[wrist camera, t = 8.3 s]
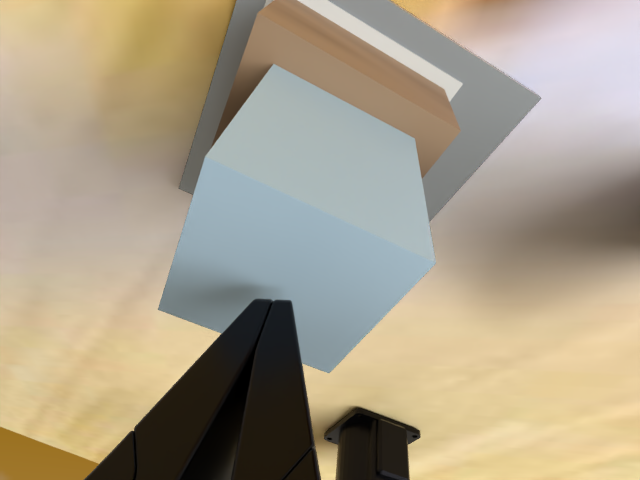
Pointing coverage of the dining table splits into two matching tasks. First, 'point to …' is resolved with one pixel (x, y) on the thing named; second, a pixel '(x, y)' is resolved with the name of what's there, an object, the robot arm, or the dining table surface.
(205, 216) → the blue block
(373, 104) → the walnut base
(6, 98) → the dining table surface
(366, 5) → the build board
